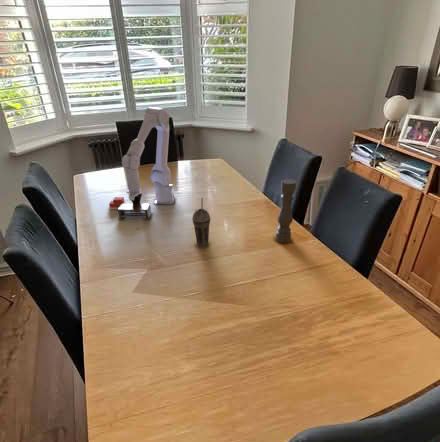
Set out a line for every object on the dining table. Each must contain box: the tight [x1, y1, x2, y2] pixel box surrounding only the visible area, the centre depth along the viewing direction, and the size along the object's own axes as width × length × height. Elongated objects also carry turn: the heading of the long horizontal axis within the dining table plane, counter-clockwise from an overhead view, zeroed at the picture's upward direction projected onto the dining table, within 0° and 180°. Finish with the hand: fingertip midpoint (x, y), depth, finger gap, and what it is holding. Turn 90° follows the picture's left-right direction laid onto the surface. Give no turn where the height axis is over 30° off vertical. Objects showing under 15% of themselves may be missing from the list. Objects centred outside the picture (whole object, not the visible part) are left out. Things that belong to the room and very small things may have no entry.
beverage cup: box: [192, 197, 211, 249], centre depth 144 cm, size 7×7×20 cm
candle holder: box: [275, 178, 297, 244], centre depth 145 cm, size 6×6×25 cm
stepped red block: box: [108, 196, 126, 210], centre depth 181 cm, size 7×4×5 cm, turn 88°
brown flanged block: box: [117, 203, 152, 220], centre depth 172 cm, size 14×7×5 cm, turn 88°
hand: (137, 209), depth 177 cm, fingers closed
